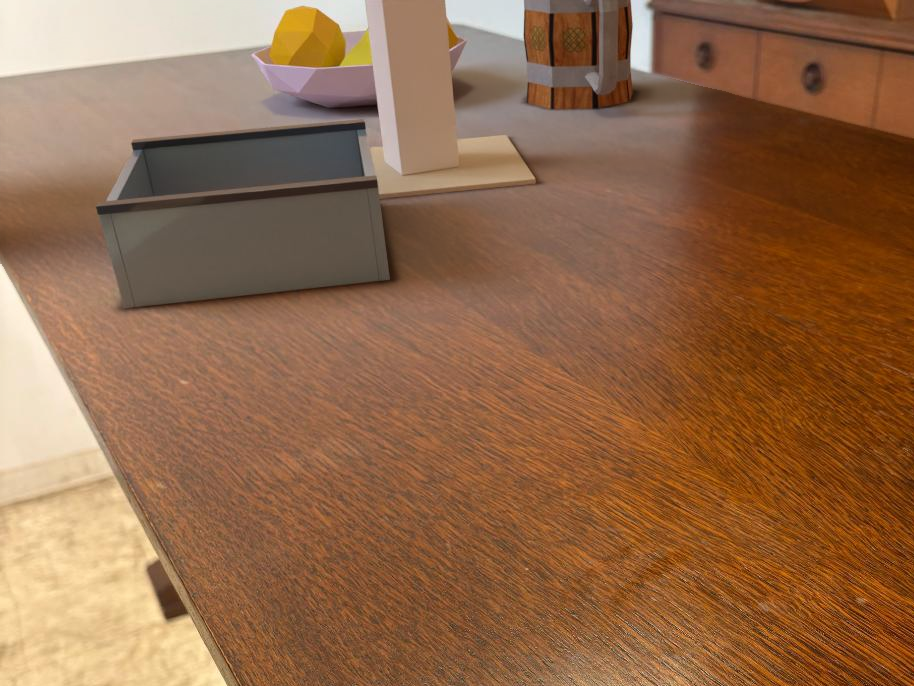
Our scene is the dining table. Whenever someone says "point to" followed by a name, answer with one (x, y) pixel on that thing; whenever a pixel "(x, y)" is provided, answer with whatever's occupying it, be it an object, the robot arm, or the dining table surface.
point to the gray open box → (245, 214)
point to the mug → (578, 53)
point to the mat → (458, 170)
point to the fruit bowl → (326, 60)
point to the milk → (413, 84)
